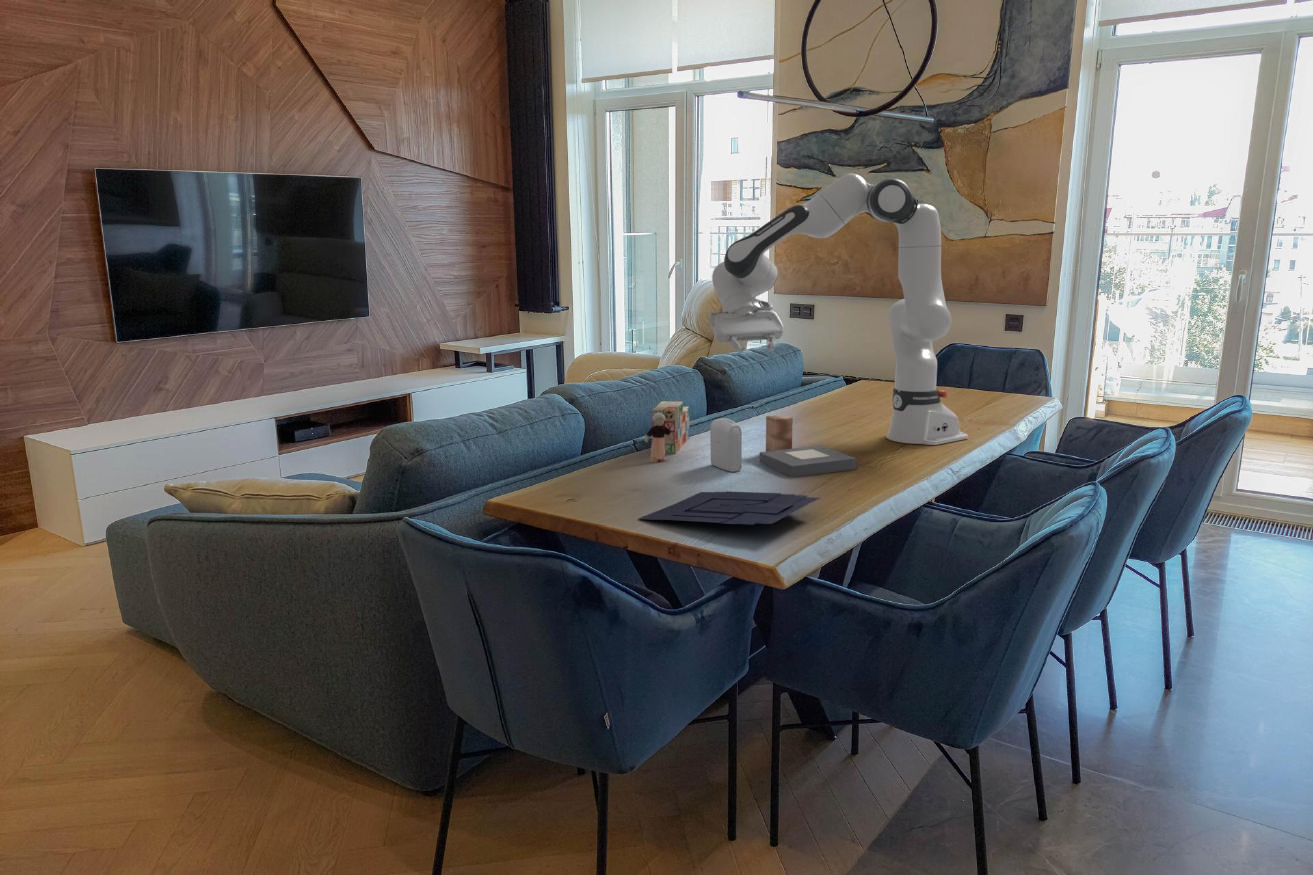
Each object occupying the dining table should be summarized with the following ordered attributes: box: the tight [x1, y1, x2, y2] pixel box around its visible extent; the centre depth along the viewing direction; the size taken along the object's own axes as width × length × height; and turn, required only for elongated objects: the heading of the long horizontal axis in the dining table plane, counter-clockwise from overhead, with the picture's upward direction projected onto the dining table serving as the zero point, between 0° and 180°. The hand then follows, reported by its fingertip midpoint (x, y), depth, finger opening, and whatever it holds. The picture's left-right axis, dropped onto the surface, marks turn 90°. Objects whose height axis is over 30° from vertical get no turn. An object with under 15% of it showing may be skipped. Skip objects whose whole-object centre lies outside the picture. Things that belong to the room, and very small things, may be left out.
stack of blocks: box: [651, 400, 690, 455], centre depth 245 cm, size 21×6×12 cm, turn 168°
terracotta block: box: [765, 414, 794, 452], centre depth 233 cm, size 5×5×10 cm
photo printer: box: [709, 417, 743, 473], centre depth 219 cm, size 10×4×12 cm, turn 26°
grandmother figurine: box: [644, 412, 673, 463], centre depth 227 cm, size 8×4×13 cm, turn 123°
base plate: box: [759, 445, 857, 478], centre depth 221 cm, size 18×16×3 cm
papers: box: [637, 490, 821, 525], centre depth 180 cm, size 24×30×4 cm
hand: (757, 350), depth 239 cm, fingers open, 8 cm apart
